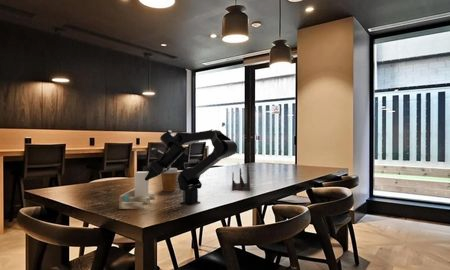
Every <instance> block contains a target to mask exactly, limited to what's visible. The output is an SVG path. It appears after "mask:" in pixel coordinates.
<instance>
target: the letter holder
mask: <svg viewBox="0 0 450 270" xmlns="http://www.w3.org/2000/svg"><path fill="white" fill-rule="evenodd" d="M250 176H251V175H250V165H249V163H246V182H244V179H243V176H242V169H241V168H240V167H239V182H235V180H234V172H232V181H231V182H232V183H231V191H234V190H238V192H239V191H240V192H241V191H243V192H244V191H245V192H246V191H247V192H249V191H251V185H250V184H251V183H250V182H251V181H250V178H251V177H250Z"/></svg>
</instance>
